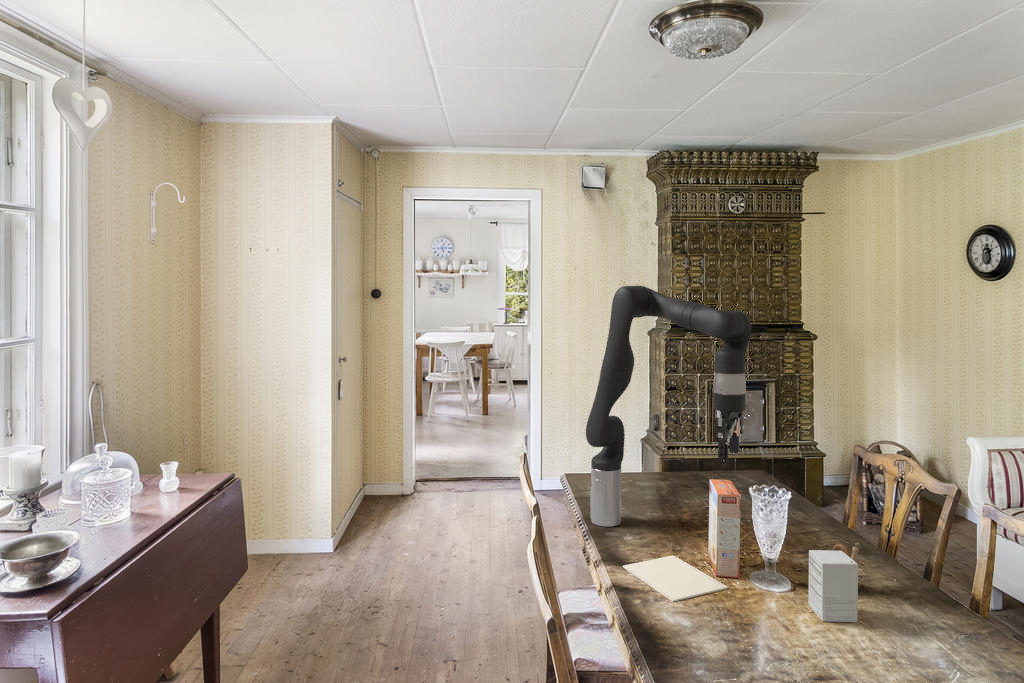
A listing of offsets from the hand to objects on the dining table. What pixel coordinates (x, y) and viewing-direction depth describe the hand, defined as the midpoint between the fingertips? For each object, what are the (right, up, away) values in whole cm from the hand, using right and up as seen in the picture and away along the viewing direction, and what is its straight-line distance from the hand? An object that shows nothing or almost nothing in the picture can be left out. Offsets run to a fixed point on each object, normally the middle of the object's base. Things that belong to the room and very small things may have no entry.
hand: (728, 455), depth 145 cm
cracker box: (0, -30, +5) cm, 30 cm away
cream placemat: (-14, -30, -1) cm, 33 cm away
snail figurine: (+24, -30, -8) cm, 39 cm away
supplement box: (+15, -31, -19) cm, 39 cm away
